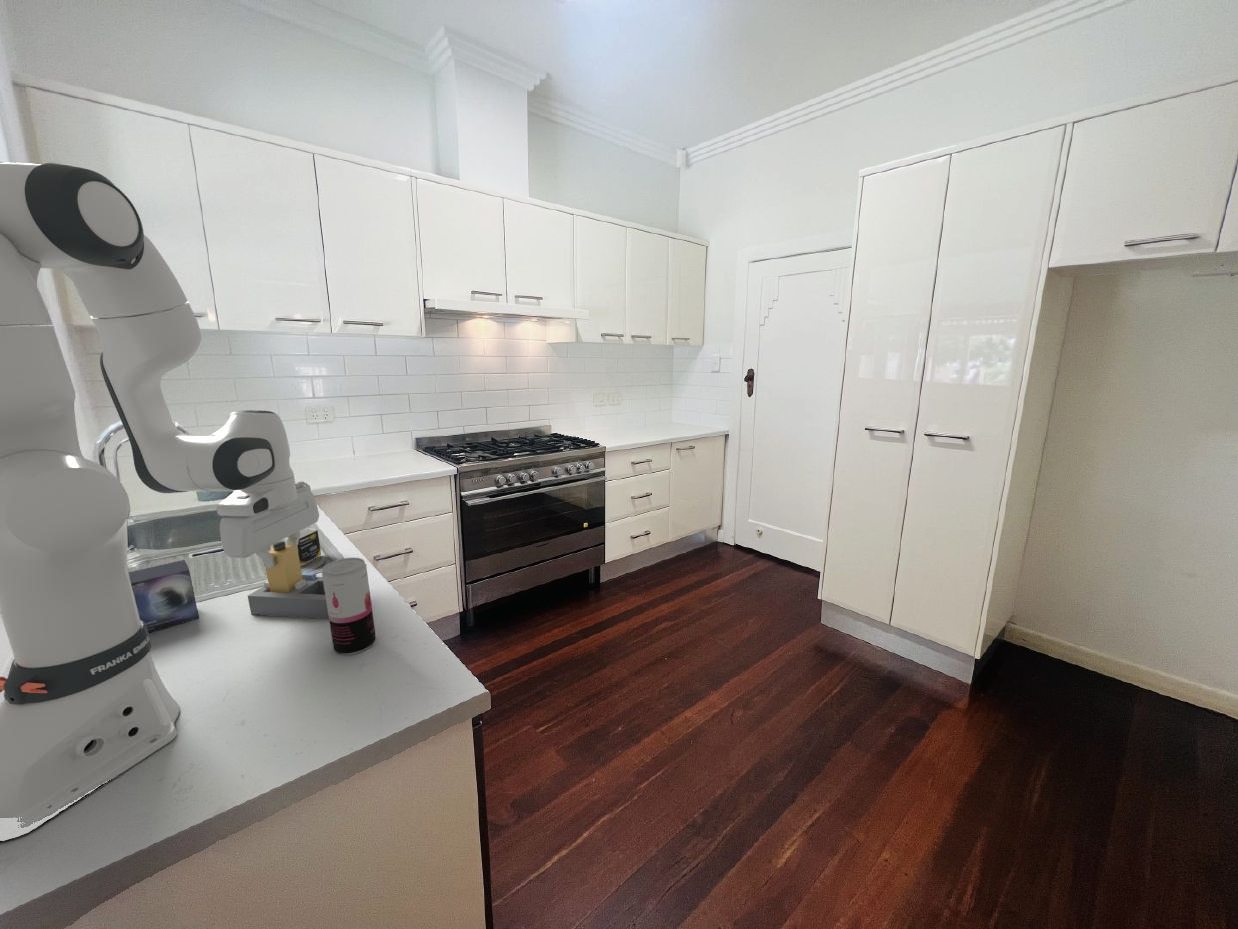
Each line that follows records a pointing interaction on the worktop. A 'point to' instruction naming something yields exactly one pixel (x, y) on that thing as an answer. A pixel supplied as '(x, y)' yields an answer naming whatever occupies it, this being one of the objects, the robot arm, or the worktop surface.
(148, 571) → the small box
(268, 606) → the grey compartment tray
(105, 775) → the robot arm
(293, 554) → the drawer with knob
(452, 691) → the worktop surface
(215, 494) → the teal cup
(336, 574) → the beverage can
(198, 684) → the worktop surface
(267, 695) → the worktop surface
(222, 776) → the worktop surface
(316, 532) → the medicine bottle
